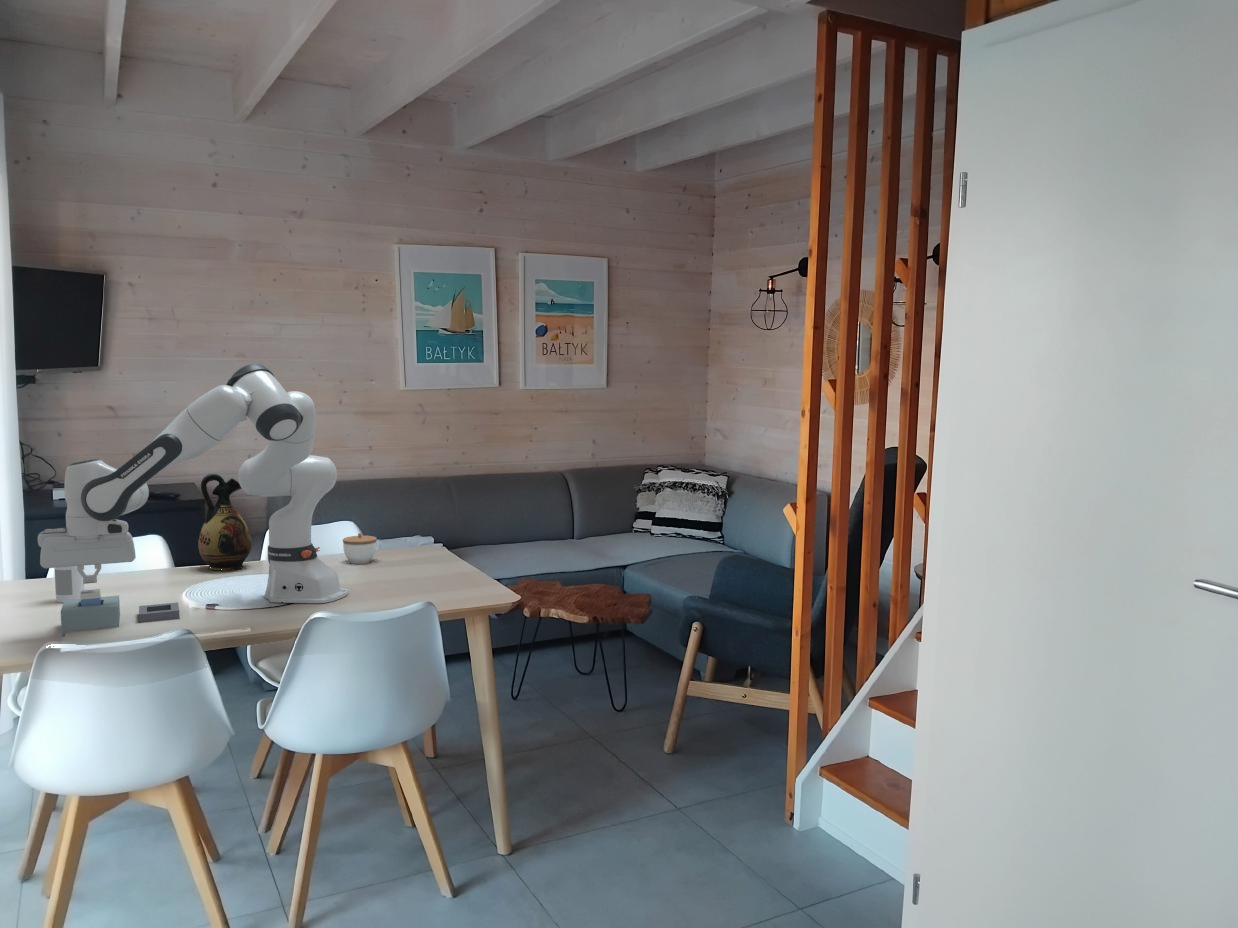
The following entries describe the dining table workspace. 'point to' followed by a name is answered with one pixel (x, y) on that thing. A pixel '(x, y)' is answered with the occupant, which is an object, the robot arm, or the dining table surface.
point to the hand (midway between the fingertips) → (90, 582)
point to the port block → (90, 615)
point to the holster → (159, 612)
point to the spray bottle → (68, 583)
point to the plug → (90, 597)
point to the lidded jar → (359, 548)
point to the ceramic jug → (223, 528)
